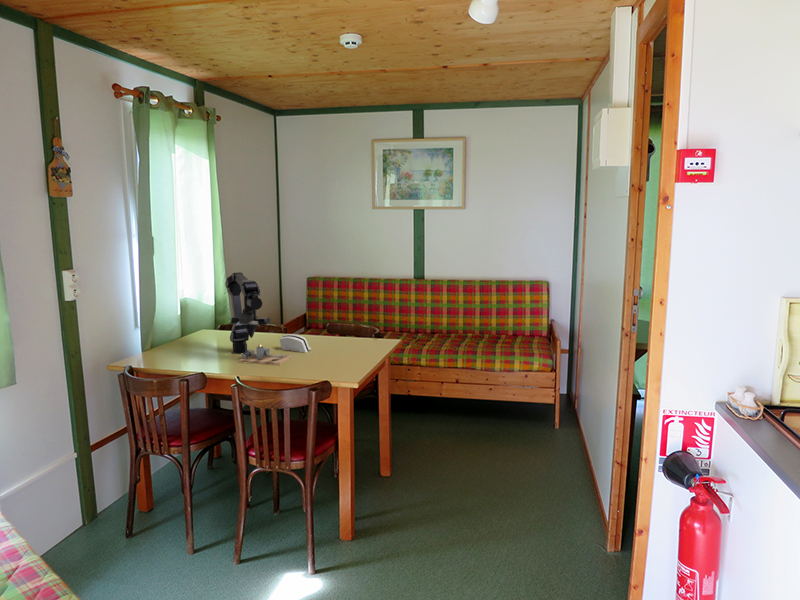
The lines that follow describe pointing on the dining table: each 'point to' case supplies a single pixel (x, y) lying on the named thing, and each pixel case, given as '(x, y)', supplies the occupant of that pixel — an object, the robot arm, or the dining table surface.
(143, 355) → the dining table surface
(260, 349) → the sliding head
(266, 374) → the dining table surface
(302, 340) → the grey curved block
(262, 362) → the brown wooden board
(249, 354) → the rail
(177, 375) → the dining table surface
